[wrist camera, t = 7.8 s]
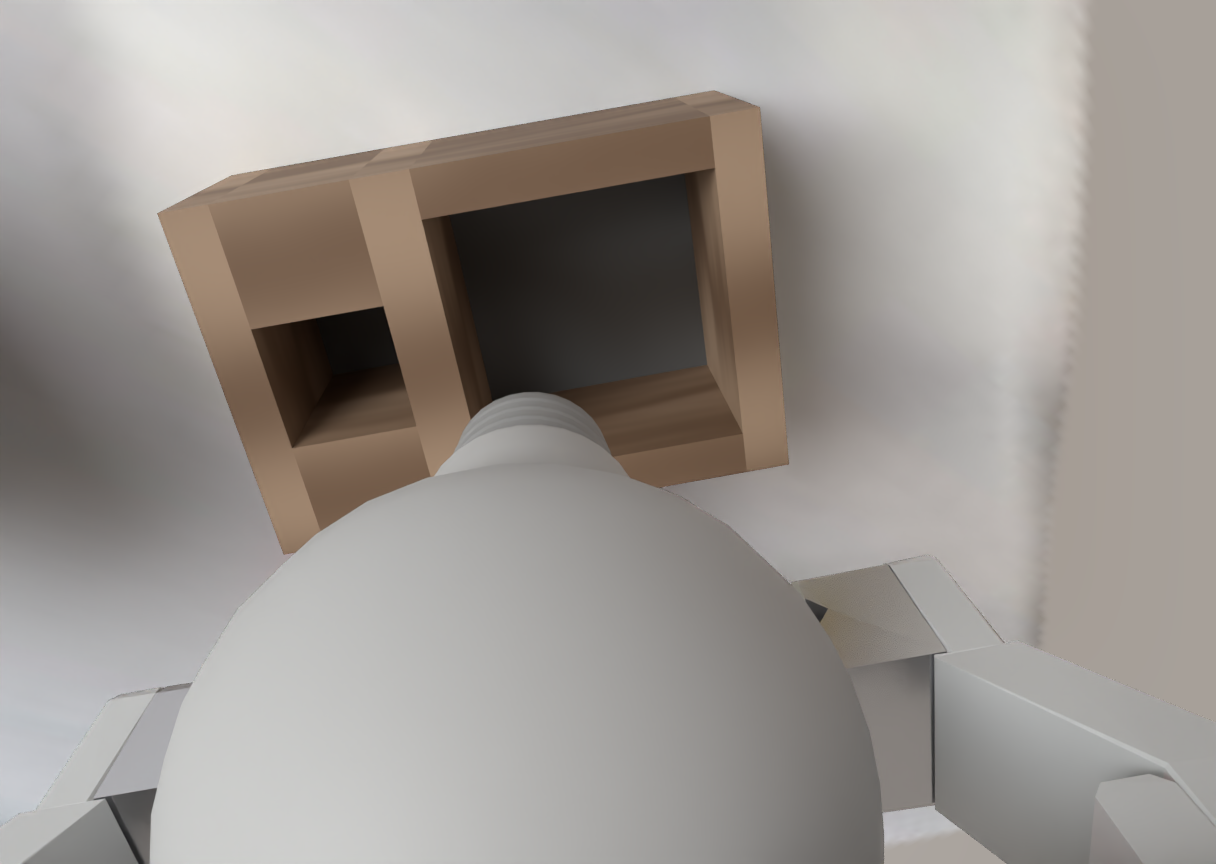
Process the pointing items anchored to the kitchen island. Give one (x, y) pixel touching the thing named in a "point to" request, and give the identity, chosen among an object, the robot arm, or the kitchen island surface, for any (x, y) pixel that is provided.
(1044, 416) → the kitchen island surface
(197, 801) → the lightbulb
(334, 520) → the socket block
